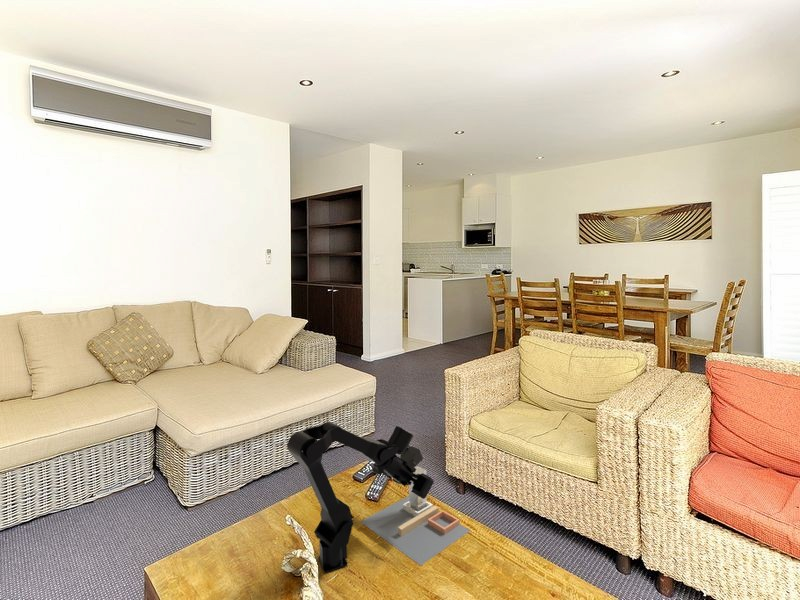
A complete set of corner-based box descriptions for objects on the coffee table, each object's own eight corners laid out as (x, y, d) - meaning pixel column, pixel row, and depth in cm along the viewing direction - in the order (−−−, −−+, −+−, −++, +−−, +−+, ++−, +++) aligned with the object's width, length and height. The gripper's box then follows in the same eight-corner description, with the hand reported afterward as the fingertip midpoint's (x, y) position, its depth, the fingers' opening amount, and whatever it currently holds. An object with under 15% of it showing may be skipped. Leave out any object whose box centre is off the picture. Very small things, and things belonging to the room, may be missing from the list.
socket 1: (417, 517, 135) (417, 513, 135) (402, 508, 140) (402, 504, 140) (432, 509, 139) (432, 504, 139) (417, 500, 144) (417, 496, 144)
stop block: (417, 514, 137) (417, 474, 135) (409, 508, 140) (408, 470, 138) (426, 508, 140) (426, 470, 138) (417, 503, 142) (417, 465, 141)
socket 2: (444, 534, 127) (444, 529, 127) (427, 524, 132) (427, 519, 132) (459, 524, 131) (459, 519, 131) (442, 514, 136) (442, 510, 136)
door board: (420, 570, 114) (420, 558, 114) (360, 526, 134) (359, 515, 133) (470, 535, 129) (470, 524, 128) (409, 499, 148) (409, 489, 147)
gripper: (429, 452, 128) (454, 475, 136) (388, 433, 142) (414, 455, 150) (409, 487, 123) (436, 509, 132) (369, 464, 137) (397, 485, 146)
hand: (420, 487), depth 140 cm, fingers open, 5 cm apart
